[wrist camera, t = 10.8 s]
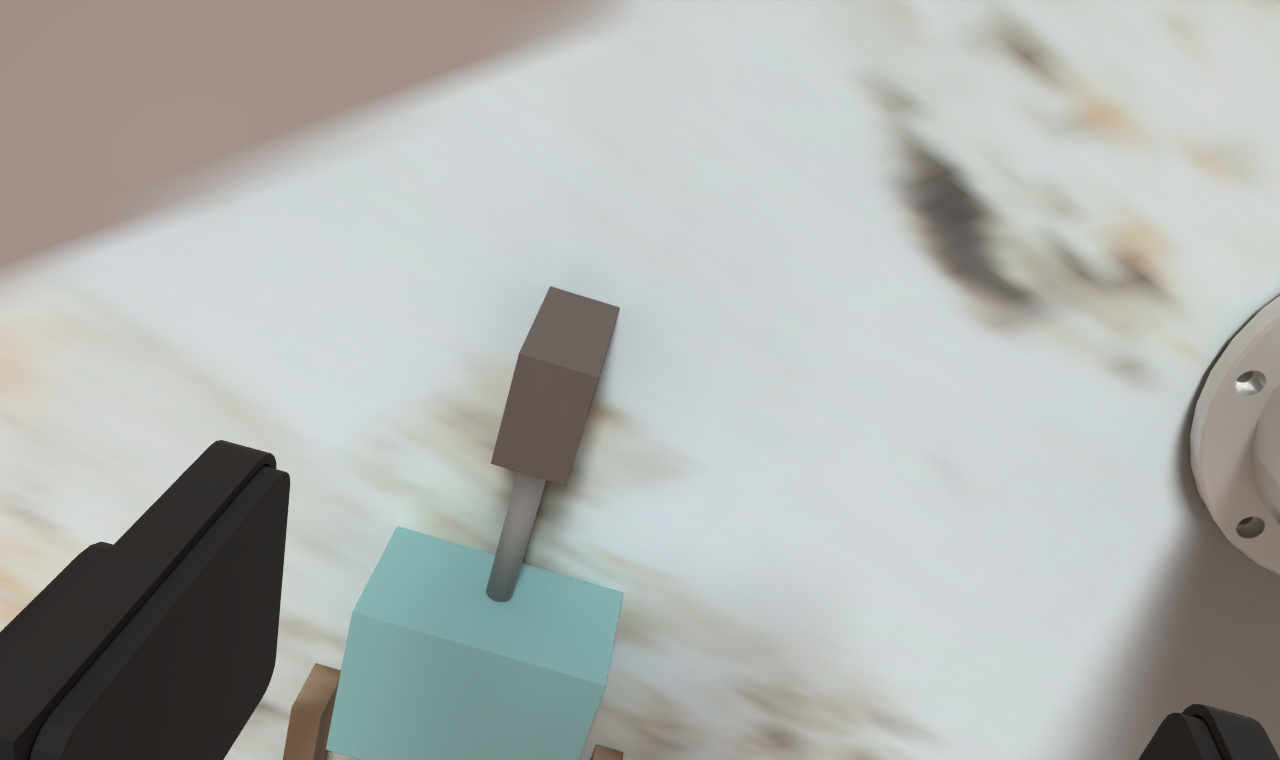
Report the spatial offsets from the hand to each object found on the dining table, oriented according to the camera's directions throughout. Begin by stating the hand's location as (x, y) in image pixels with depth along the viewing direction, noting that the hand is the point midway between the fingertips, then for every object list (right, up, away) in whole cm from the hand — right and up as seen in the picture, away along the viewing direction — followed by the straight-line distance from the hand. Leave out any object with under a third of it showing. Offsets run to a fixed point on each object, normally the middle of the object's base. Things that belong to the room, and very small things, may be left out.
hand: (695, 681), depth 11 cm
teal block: (-5, -2, +29) cm, 29 cm away
